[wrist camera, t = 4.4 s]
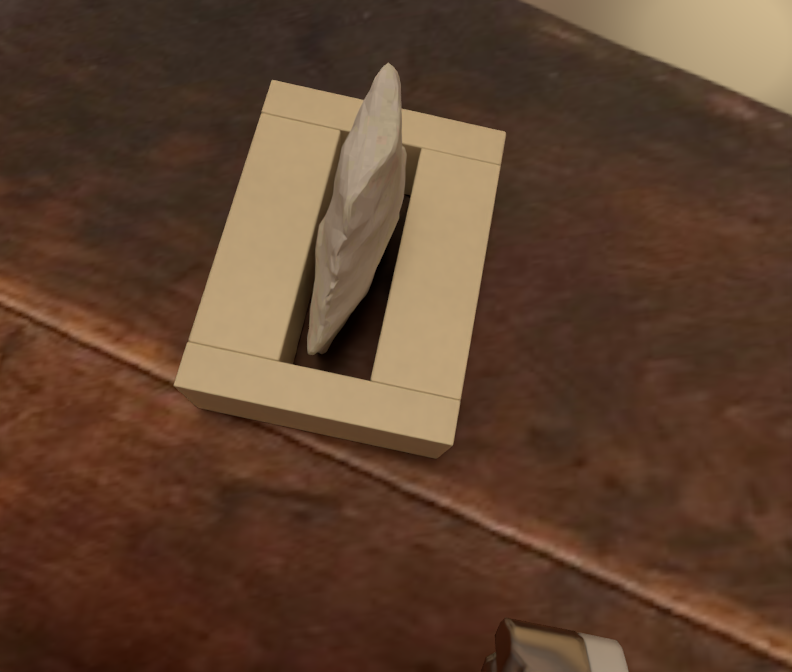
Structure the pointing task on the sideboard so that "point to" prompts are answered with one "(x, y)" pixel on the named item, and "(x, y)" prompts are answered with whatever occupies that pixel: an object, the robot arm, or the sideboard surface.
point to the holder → (295, 275)
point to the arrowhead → (359, 210)
